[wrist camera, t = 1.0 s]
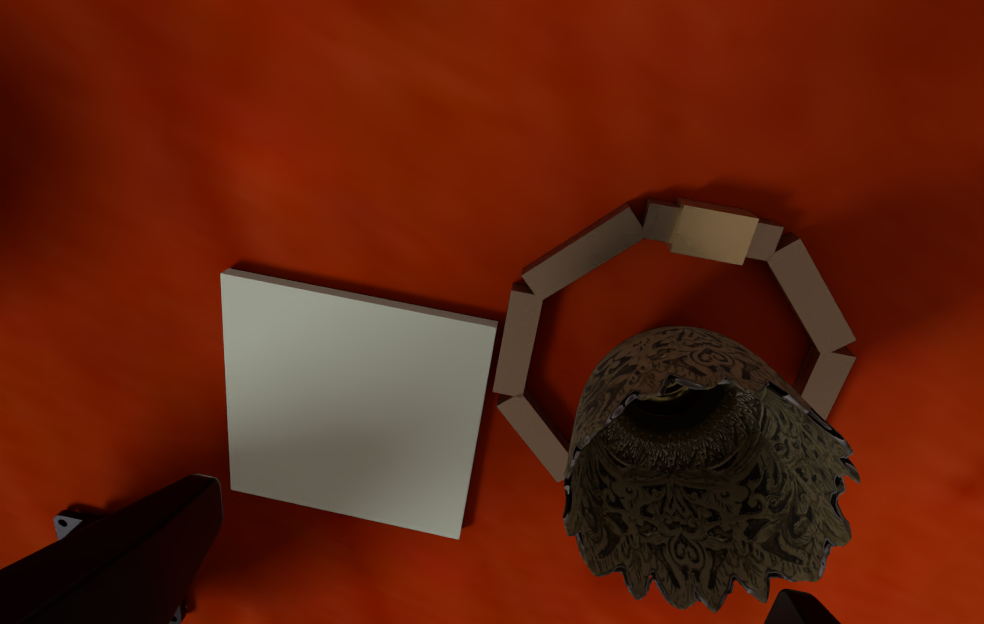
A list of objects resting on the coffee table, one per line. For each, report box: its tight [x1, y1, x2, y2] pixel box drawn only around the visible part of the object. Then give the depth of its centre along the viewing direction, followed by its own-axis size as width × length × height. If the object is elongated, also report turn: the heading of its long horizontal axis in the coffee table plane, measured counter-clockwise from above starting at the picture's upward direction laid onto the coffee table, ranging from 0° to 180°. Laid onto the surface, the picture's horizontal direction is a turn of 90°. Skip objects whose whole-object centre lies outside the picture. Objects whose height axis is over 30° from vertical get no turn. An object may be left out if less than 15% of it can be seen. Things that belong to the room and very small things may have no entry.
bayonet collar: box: [493, 198, 856, 482], centre depth 21 cm, size 13×12×1 cm
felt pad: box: [221, 268, 498, 539], centre depth 24 cm, size 11×11×1 cm
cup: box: [563, 326, 860, 613], centre depth 18 cm, size 8×7×8 cm
